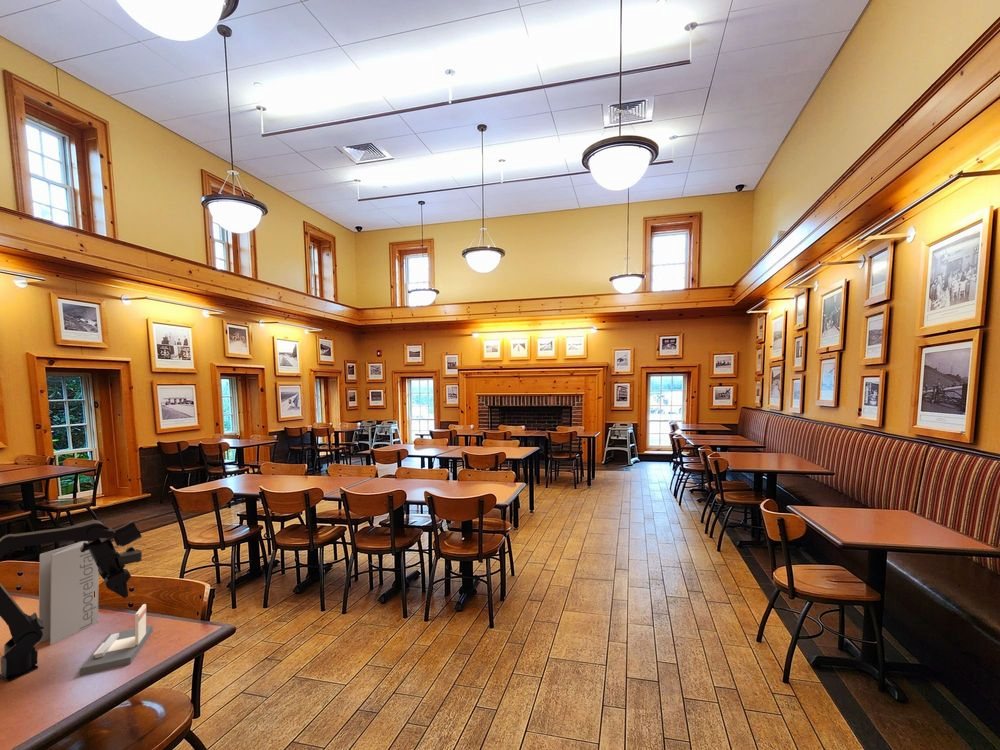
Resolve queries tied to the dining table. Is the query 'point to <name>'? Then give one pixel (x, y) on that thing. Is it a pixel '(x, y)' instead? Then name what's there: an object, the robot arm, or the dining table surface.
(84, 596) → the brochure
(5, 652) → the robot arm
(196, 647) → the dining table surface
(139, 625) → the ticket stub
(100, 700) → the dining table surface
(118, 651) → the board
